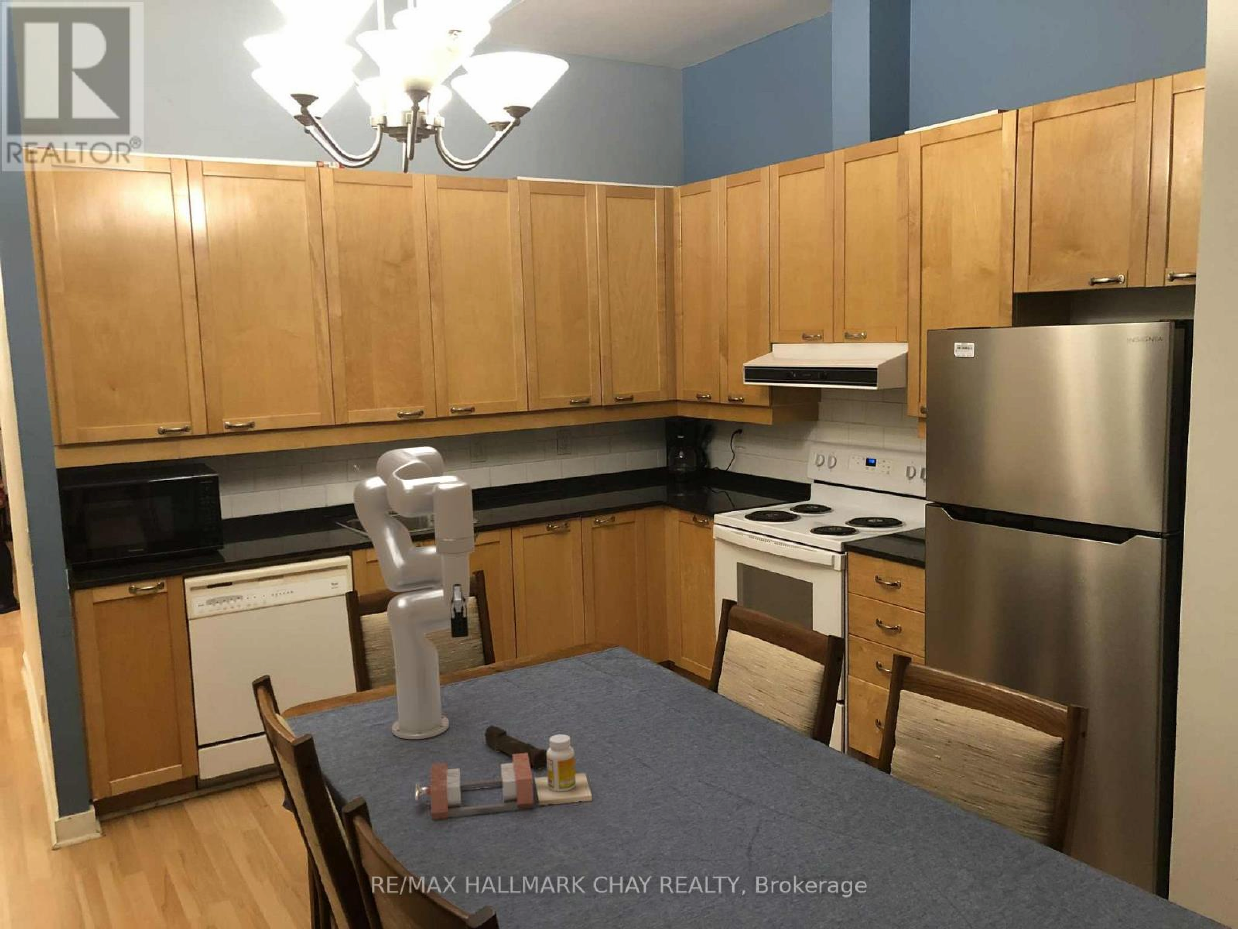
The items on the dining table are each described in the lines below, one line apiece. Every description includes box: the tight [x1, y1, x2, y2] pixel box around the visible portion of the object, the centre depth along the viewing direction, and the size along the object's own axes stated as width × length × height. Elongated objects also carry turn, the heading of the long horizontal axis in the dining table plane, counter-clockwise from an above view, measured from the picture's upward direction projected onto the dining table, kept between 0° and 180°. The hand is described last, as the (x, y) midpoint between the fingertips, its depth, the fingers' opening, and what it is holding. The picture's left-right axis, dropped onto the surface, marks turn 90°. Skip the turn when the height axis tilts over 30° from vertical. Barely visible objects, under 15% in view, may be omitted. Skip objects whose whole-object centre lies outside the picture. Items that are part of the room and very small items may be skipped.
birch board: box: [534, 772, 593, 807], centre depth 197 cm, size 10×10×1 cm
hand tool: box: [484, 725, 548, 771], centre depth 215 cm, size 19×4×5 cm, turn 42°
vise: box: [414, 753, 535, 820], centre depth 194 cm, size 12×22×6 cm, turn 99°
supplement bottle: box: [546, 734, 576, 792], centre depth 197 cm, size 5×5×10 cm
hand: (459, 629), depth 202 cm, fingers open, 9 cm apart
